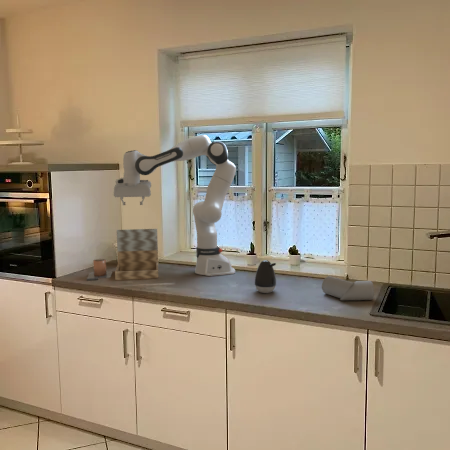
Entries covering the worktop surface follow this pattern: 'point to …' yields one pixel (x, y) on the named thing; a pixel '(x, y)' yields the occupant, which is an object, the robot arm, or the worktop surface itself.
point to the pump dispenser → (265, 277)
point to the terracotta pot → (99, 267)
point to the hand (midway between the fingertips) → (132, 205)
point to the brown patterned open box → (137, 254)
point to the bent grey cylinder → (348, 289)
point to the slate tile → (92, 277)
